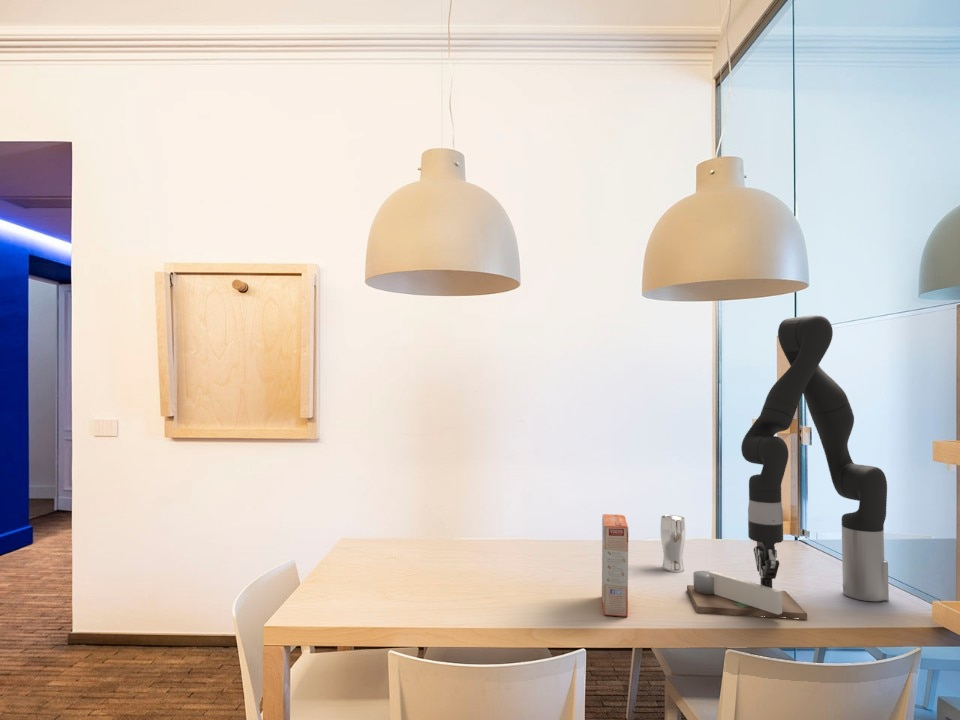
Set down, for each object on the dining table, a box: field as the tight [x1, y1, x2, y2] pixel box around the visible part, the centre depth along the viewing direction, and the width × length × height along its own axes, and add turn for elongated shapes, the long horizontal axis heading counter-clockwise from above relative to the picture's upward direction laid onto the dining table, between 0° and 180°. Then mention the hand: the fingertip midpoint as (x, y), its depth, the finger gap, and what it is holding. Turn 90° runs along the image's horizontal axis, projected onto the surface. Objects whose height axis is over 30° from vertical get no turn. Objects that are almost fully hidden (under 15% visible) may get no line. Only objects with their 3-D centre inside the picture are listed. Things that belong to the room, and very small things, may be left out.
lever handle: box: [693, 570, 783, 615], centre depth 150 cm, size 22×6×5 cm, turn 34°
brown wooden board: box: [686, 584, 808, 620], centre depth 152 cm, size 24×16×2 cm, turn 80°
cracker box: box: [601, 513, 629, 618], centre depth 151 cm, size 14×6×21 cm, turn 170°
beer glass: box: [659, 514, 686, 573], centre depth 182 cm, size 7×7×15 cm
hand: (766, 593), depth 147 cm, fingers closed
